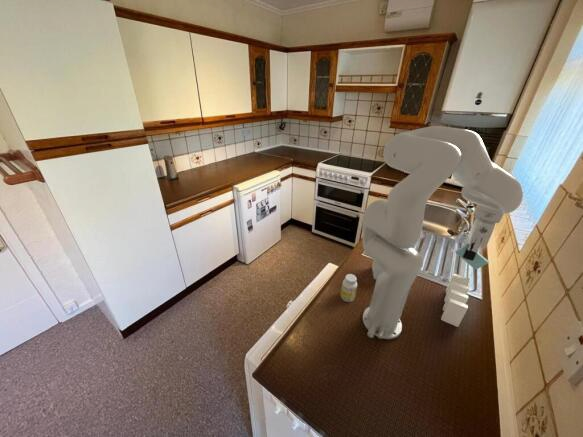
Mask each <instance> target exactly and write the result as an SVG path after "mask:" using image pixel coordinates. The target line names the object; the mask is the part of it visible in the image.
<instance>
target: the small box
mask: <svg viewBox="0 0 583 437" xmlns="http://www.w3.org/2000/svg"><path fill="white" fill-rule="evenodd" d="M371 270H372V276H373V280H377V278H378V276H379V275H380V274H381V273H383V272H386V271H385V269H384V268H383V267H382V266H380V265H379V264H378V263H377V262H376V261H375V260H372V266H371Z"/></svg>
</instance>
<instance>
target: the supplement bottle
mask: <svg viewBox="0 0 583 437" xmlns="http://www.w3.org/2000/svg"><path fill="white" fill-rule="evenodd" d="M357 280H358V279H357V276H356V275H355V274H352V273H348V274H346V275H345V277H344V279H343V281H342V285H341V290H340V298H341V299H342V300H343V302H347V303H350V302H353V301H354V300H355V298H356V294H357V289H358V282H357Z"/></svg>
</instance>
